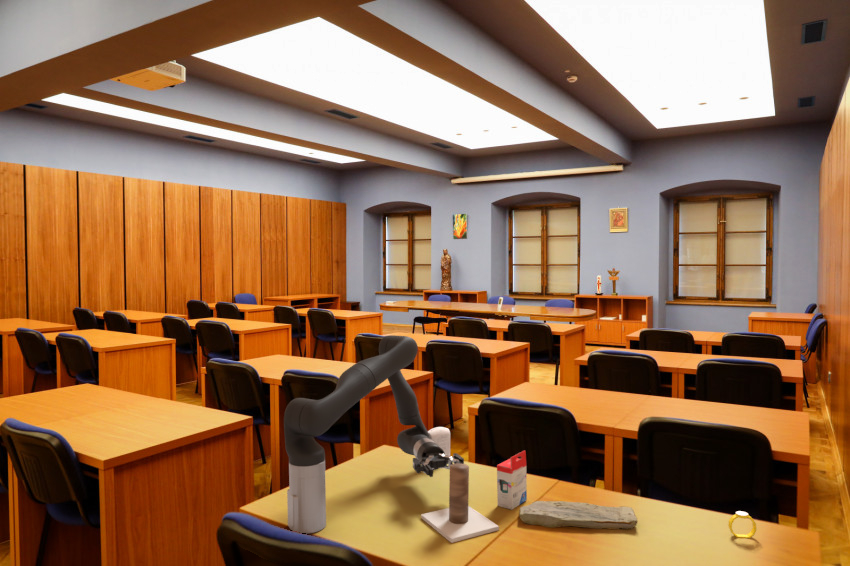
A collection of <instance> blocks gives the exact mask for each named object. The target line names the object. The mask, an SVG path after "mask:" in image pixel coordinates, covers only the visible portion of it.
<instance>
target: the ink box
mask: <svg viewBox="0 0 850 566" xmlns="http://www.w3.org/2000/svg"><path fill="white" fill-rule="evenodd" d="M496 476H497V477H496V478H497V479H496V480H497V481H496V484H497V489H496V492H497V494H496V495H497V506H498V507H501V508H504V509H507V510H514V509H515V508H516V507H519V506H520V505H521V504H523V503H525V502H526V501H527V499H528V498H527V492H528V491H527V490H528V489H527V487H528V485H527V454H526V450H522V451H521V452H518V453H516V454H515V455H513V456H510V458H508V459H507V460H504V461H502V462H501V463H499V464H497V465H496Z"/></svg>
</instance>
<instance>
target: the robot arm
mask: <svg viewBox="0 0 850 566" xmlns="http://www.w3.org/2000/svg"><path fill="white" fill-rule="evenodd" d="M378 344H379V345H378V353H379V354H378V355H375V356H372V357H369V358H365V359H363V360H360V361H358V362H356V363H355V364H353V365H352V366H350V367H349V368H347V369H345V370H344V371H343V372H342V373H341V374H340V376H339V378H338V380H337V383H336V387H335V389H334V390H333V392H331V393H330V394H328V395H326V396H325V397H323V398H320V399H310V398H305V397H295V398H294V399H292V400H291V401H289V403H288V404H287V406H286V408H285V409H284V410H285V411H284V415H283V430H284V431H283V432H284V445H285V446H284V447H285V451H286V454H287V457H288V476H289V477H288V478H289V479H288V480H289V481H288V482H289V483H288V484H289V485H288V487H289V488H288V489H287V490H286V492H287V493H286V494H287V497H286V498H287V499H286V500H287V502H286V503H287V527H288V528H289V529H290V530H293V531H297V532H300V533H306V534H307V535H308V534H312V533H313V534H314V533H317V532H320V531H322V530H323V529H324V528H325V527H326V526H327V505H326V504H327V501H326V500H327V499H326V496H327V494H326V491H327V489H326V488H327V487H326V451H325V449H324V447H323V446H322V445H320V443H318V441H316V439H315V437H319V436H322V435H323V434H324V433H326V432H327V431H328V430H329V429H331V427H332V426H333V425H334V424H336V422H337V421H338V420H340V418H341V417H342V416H343V415H344V414H345V413H346V412H347V411H349V410H350V409H351V408H353V406H355V404H357V403H358V402H359V401H360V400H362V399H364V398H365V397H366V396H367V395H369V394H370V393H371V392H373V391H374V390H375V389H376V388H377V387H378V386H379V385H381V384H382V383H384V382H385V381H386V380H387V381H388V383H389V385H390V389H391V391H392V395H393V398H394V401H395V407H396V411H397V416H398V417H397V418H398V421H399V423H400V424H401V425H402V426H413V427H410V428H406V429H404V430H402V431H400V432H399V433H398V435H397V438H396V442H397V445H398V447H399V449H400V450H401V451H402V452H404V453H405V454H408V455H410V456H413V458H412V468H413V469H414V471H415V473H416V474H421V473H422V472H423V474H425V475H426V476H428V477H430V478H433V477H434V471H437V470H438V469H446V470H450V465H452V464H456V463H461V464H465V459H464V457H462V456H461V455H460V454H459V453H456V452H455V453H453V454H452V456H451V455H450V456H448V455H445V453H444V451H443V450H442V448H441V447H439V446H438V445H437V444H436V443H435V442H434V441H432V440H430V437H429V433H428V431H429V430H428V429H427V427H426V426H425V424H424V422H423V420H422V417H421V414H420V410H419V409H420V408H419V403H418V399H417V396H416V393H415V391H414V390H413V388H412V387H411V385H410V384H409V382H408V381H407V379H406V378H405V376H404V375H403V373H402V371H401V370H403V369H405V368H406V367H408V366H409V365H411V364H412V362H414V360H415V359H416V357H417V355H418V344H417V342H416V339H414V338H412V337H410V336H408V335H407V336H406V335H385V336H383V337H382V338H381V340H380V341H379V343H378ZM300 533H299V534H300Z"/></svg>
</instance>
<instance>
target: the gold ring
mask: <svg viewBox="0 0 850 566" xmlns="http://www.w3.org/2000/svg"><path fill="white" fill-rule="evenodd" d="M739 518H740V519H749V520H751V522H752V528H751V530H750V532H748V533H747V534H741V533H740V534H738V533H735V532H734V531H733V523H734V522H735V520H737V519H739ZM727 525H728V529H729V531H730V533H731V534H732V535H733V536H734V537H736V538H737V539H751V538H752V537H753V536H754V535H755V534H756V532H757V524H756V522H755V520H754V518H752V516H750V515H749V513H748V512H746V511H741V510H738V511H735V514H733V515H731V517H730V518H729V520H728V524H727Z"/></svg>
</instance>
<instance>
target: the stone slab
mask: <svg viewBox="0 0 850 566" xmlns="http://www.w3.org/2000/svg"><path fill="white" fill-rule="evenodd" d="M519 518H520V520H521V521H523V523H524V524H527V525H535V526H537V525H538V526H543V527H545V528H560V527H561V526H562V527H577V528H590V529H602V528H611V529H612V528H613V529H612V530H619V528H622V529H628V528H631V529H634V527H635V526H637V524H638V518H637V516H636V513H635V511H634V509H633V508H632V507H631V506H625V505H624V506H616V507H615V506H604V505H597V504H592V503H588V502H577V501H576V502H574V501H562V500H560V501H559V500H558V501H553V500H552V501H551V500H549V501H548V500H547V501H544V500H536V501H533V502H532V503H530V504H528V505H524V506H521V507H519ZM562 527H561V528H562ZM611 529H610V530H611Z"/></svg>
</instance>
